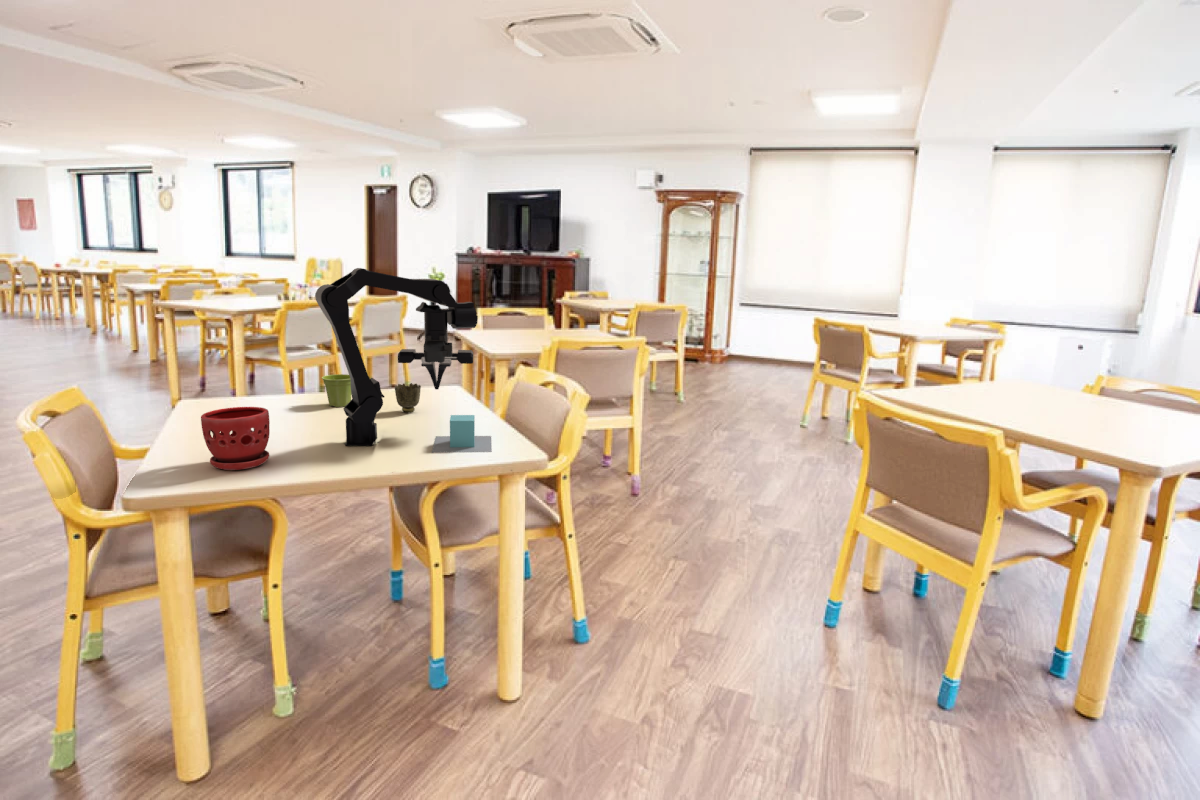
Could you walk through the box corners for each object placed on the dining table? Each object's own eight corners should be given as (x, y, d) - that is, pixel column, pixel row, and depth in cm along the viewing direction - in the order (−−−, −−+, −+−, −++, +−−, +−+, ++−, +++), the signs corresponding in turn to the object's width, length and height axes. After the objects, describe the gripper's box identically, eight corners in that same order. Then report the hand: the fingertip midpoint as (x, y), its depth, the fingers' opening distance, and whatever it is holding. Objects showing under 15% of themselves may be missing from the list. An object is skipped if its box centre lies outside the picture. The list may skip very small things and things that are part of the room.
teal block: (450, 447, 166) (449, 420, 165) (450, 440, 172) (450, 415, 171) (474, 447, 167) (474, 420, 166) (474, 440, 173) (474, 415, 172)
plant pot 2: (322, 402, 210) (320, 374, 208) (354, 400, 214) (353, 373, 212) (324, 409, 202) (322, 380, 200) (358, 407, 206) (356, 379, 204)
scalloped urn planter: (394, 415, 198) (394, 388, 197) (395, 409, 205) (394, 383, 203) (421, 414, 200) (421, 387, 199) (421, 408, 207) (420, 382, 205)
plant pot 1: (282, 456, 158) (278, 405, 156) (255, 474, 145) (251, 419, 143) (224, 454, 158) (219, 403, 155) (192, 473, 145) (187, 418, 142)
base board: (431, 456, 162) (431, 452, 162) (435, 439, 176) (435, 436, 175) (491, 455, 164) (491, 451, 164) (491, 439, 178) (491, 435, 178)
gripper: (394, 332, 166) (395, 395, 169) (472, 334, 169) (472, 396, 172) (399, 327, 177) (401, 386, 180) (473, 328, 180) (473, 386, 183)
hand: (436, 389), depth 179 cm, fingers closed
